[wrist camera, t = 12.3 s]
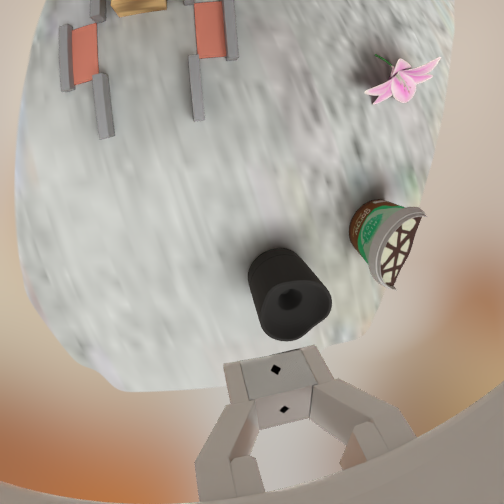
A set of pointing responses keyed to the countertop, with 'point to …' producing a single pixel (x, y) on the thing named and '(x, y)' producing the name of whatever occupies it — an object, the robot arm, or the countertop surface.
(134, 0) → the honey block
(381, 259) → the food container
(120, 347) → the countertop surface
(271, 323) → the pen holder
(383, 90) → the lily
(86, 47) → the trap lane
